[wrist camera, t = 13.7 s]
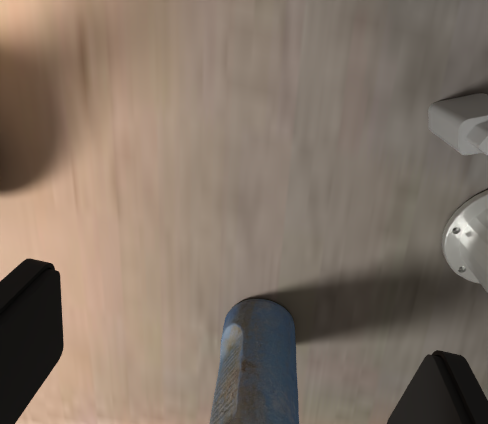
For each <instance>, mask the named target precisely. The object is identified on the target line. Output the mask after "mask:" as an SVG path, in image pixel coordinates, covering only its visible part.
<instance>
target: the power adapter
mask: <svg viewBox="0 0 488 424" xmlns="http://www.w3.org/2000/svg"><path fill="white" fill-rule="evenodd" d="M428 114H429V129H430V131H431V132H433V133H434V134H435V135H437V136H438V137H439V138H441V139H442V140H443V141H445V142H446V143H447V144H449V145H450V146H451V147H453V148H454V149H455V150H457V151H458V152H459V153H461V154H463V155H471V154H477V153H484V154H486V155H487V156H488V95H487V94H484V93H478V94H473V95H468V96H463V97H458V98H453V99H448V100H443V101H438V102H435V103H433V104H432V105H431V106H430V107H429V111H428Z"/></svg>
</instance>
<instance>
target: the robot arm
mask: <svg viewBox="0 0 488 424" xmlns="http://www.w3.org/2000/svg"><path fill="white" fill-rule="evenodd" d="M442 251H443V255H444V257H445V259H446V261H447V263H448V264H449V266H450V267H451V269H452V270H453V271H454V272H455V273H456V274H457V275H459V276H461V277H462V278H464V279H466V280H469V281H471V282H474V283H479V284H481V285H482V286H483V288H484V289H485V290H486V292H487V293H488V190H486V191H484V192H482V193H480V194H478V195H476V196H474V197H473V198H471V199H469V200H468V201H466V202H465V203H464V204H463V205H462V206H461V207H460V208H458V209H457V210H456V212H455V213H454V214H453V215H452V217H451V218H450V219H449V221H448V223H447V225H446V227H445V229H444V232H443V236H442ZM62 351H63V325H62V305H61V285H60V273H59V271H56V270H55V268H54V265H53V264H51V263H47V262H43V261H38V260H34V259H26V260H24V261H23V262H22V263H21V264H20V265H18V266H17V267H16V268H15V269H14V270H13V271H12V272H10V273H9V274H8V275H7V276H6V277H5V278H4V279H3V280H1V281H0V424H15V423H16V421H17V420H18V418H19V417H20V416H21V414H22V413H23V411H24V410H25V408H26V407H27V405H28V404H29V403H30V401H31V400H32V398H33V397H34V395H35V394H36V392H37V391H38V389H39V388H40V387H41V385H42V384H43V382H44V381H45V379H46V378H47V376H48V375H49V374H50V372H51V371H52V369H53V368H54V366H55V365H56V363H57V362H58V360H59V359H60V357H61V354H62ZM387 424H488V400H487V399H486V397H485V395H484V393H483V391H482V389H481V387H480V385H479V383H478V381H477V379H476V378H475V376H474V374H473V372H472V370H471V368H470V366H469V364H468V362H467V361H466V359H465V358H464V357H463V356H461V355H457V354H452V353H448V352H444V351H438V350H437V351H435V352H434V353H433V354H432V355H427V356H426V357H425V358H424V360H423V362H422V363H421V365H420V367H419V368H418V370H417V372H416V374H415V375H414V377H413V379H412V380H411V382H410V384H409V385H408V387H407V389H406V390H405V392H404V394H403V396H402V397H401V399H400V401H399V402H398V404H397V406H396V407H395V409H394V411H393V413H392V414H391V416H390V418H389V419H388V422H387Z"/></svg>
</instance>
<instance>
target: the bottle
mask: <svg viewBox="0 0 488 424" xmlns="http://www.w3.org/2000/svg"><path fill="white" fill-rule="evenodd" d="M210 424H299V415H298V389H297V373H296V343H295V325H294V322H293V318H292V316H291V315H290V313H289V312H288V311H287V310H286V309H285V308H284V307H282V306H281V305H279V304H277V303H275V302H273V301H269V300H265V299H249V300H245V301H242V302H240V303H238V304H236V305H235V306H234V307H232V309H231V310H230V311H229V312H228V314H227V316H226V318H225V323H224V328H223V334H222V340H221V355H220V366H219V372H218V378H217V383H216V389H215V394H214V401H213V406H212V412H211V418H210Z"/></svg>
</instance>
